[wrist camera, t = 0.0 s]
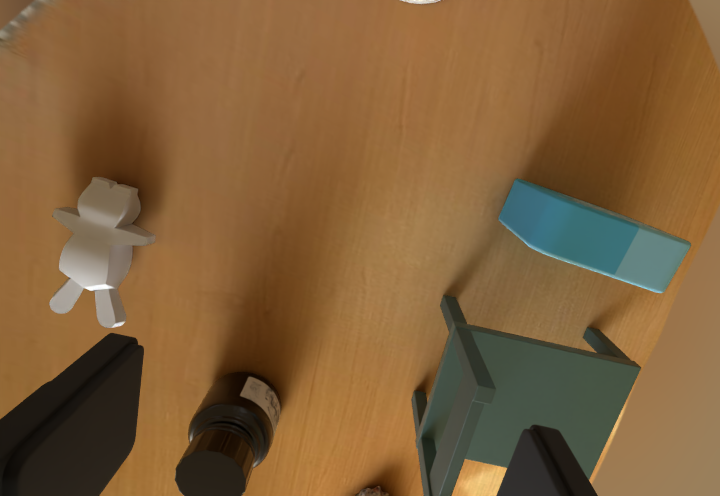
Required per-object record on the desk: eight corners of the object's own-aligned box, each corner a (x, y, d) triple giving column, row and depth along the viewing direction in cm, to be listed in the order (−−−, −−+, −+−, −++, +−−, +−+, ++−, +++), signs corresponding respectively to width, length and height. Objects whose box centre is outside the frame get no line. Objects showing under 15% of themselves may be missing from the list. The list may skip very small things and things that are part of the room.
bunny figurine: (151, 199, 43) (115, 341, 45) (173, 196, 48) (139, 323, 50) (53, 168, 42) (22, 312, 45) (85, 168, 47) (56, 298, 50)
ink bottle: (288, 433, 55) (265, 517, 43) (218, 439, 55) (177, 523, 44) (274, 363, 52) (246, 433, 41) (200, 369, 53) (152, 440, 41)
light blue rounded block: (620, 213, 46) (702, 246, 34) (599, 253, 47) (672, 298, 36) (511, 175, 45) (558, 196, 34) (493, 217, 46) (532, 251, 35)
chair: (442, 293, 49) (477, 383, 32) (600, 328, 50) (713, 435, 33) (410, 400, 53) (426, 529, 36) (556, 432, 54) (637, 573, 37)
